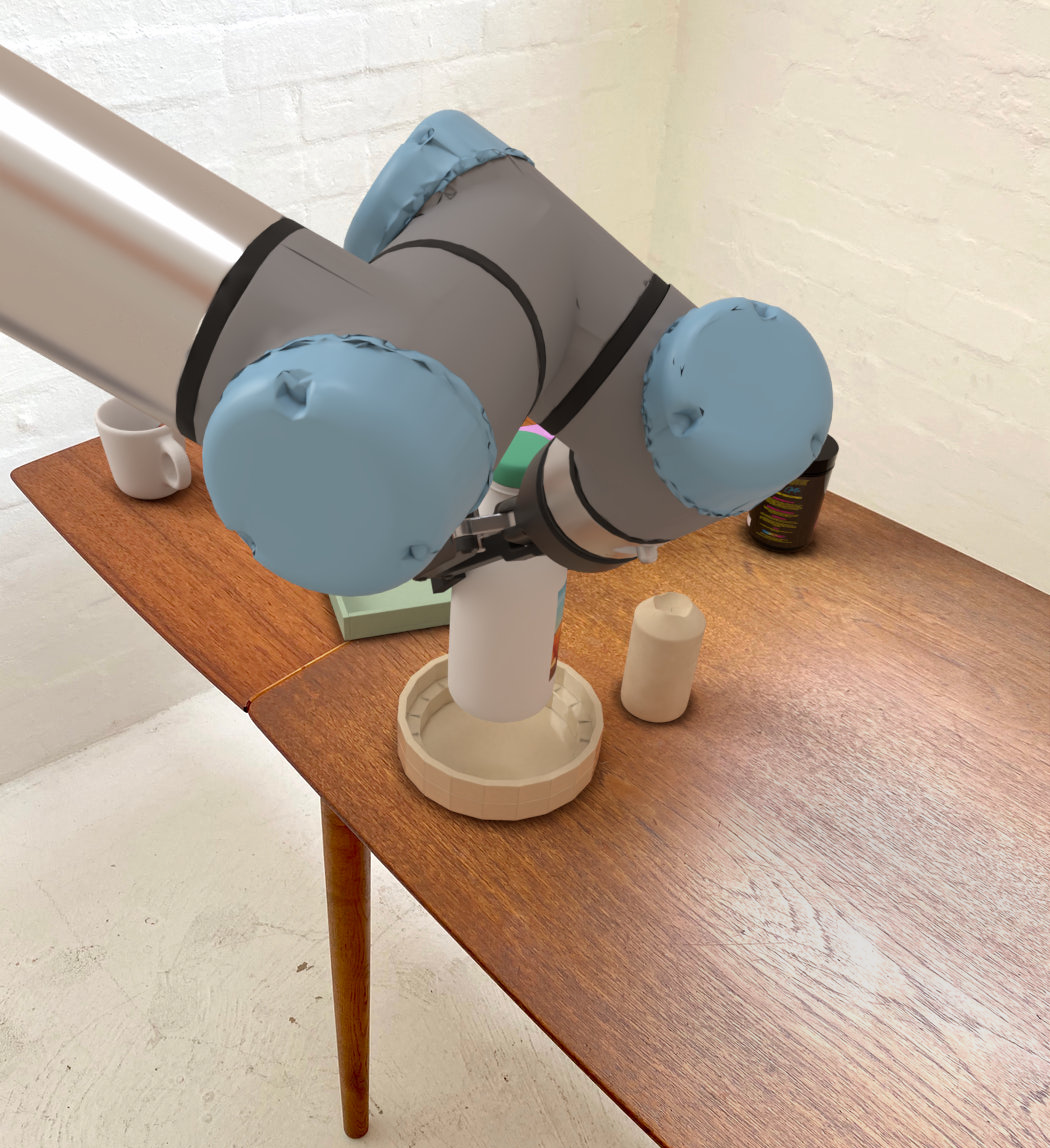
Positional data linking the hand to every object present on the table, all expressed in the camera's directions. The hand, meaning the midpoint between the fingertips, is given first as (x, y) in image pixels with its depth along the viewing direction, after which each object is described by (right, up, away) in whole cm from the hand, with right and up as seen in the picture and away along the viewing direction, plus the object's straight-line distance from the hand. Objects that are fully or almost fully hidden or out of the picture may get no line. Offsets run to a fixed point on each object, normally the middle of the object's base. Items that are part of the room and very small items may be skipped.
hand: (492, 565), depth 77 cm
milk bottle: (0, -9, +4) cm, 10 cm away
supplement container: (+27, +7, +32) cm, 43 cm away
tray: (-8, +2, +23) cm, 25 cm away
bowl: (0, -13, +8) cm, 15 cm away
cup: (-33, +11, +30) cm, 46 cm away
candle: (+13, -10, +13) cm, 21 cm away
